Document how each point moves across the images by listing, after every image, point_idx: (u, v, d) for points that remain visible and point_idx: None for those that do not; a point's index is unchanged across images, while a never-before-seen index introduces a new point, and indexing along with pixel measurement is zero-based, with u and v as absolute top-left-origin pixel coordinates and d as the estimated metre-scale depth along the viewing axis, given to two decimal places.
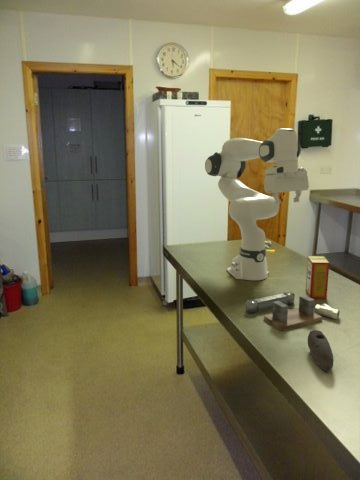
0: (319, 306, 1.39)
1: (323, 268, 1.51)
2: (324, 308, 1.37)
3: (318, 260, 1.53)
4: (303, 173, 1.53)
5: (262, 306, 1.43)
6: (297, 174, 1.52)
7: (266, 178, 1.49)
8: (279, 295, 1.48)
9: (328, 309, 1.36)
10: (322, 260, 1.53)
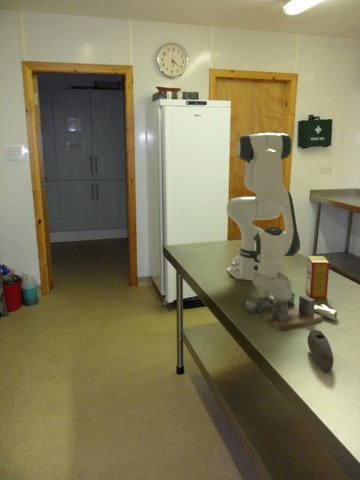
0: (317, 306, 1.38)
1: (323, 268, 1.51)
2: (321, 309, 1.37)
3: (318, 260, 1.53)
4: (280, 281, 1.37)
5: (262, 306, 1.43)
6: (274, 279, 1.40)
7: None
8: None
9: (325, 310, 1.36)
10: (322, 260, 1.53)
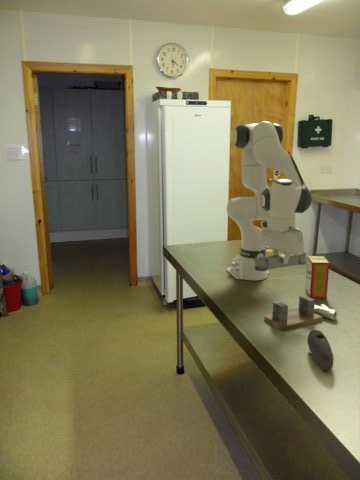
0: (316, 306, 1.38)
1: (323, 268, 1.51)
2: (321, 308, 1.37)
3: (318, 260, 1.53)
4: (291, 234, 1.28)
5: (272, 263, 1.34)
6: (285, 234, 1.31)
7: None
8: None
9: (325, 309, 1.36)
10: (322, 260, 1.53)
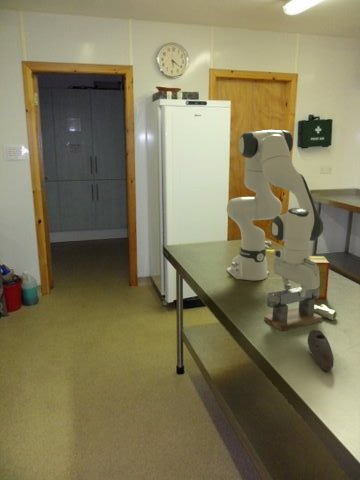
0: (316, 306, 1.38)
1: (323, 268, 1.51)
2: (321, 309, 1.37)
3: (318, 260, 1.53)
4: (306, 268, 1.23)
5: (285, 299, 1.30)
6: (299, 266, 1.26)
7: None
8: None
9: (325, 310, 1.36)
10: (322, 260, 1.53)
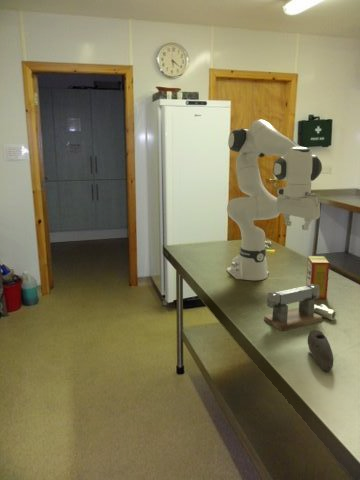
0: (315, 306, 1.39)
1: (323, 268, 1.51)
2: (320, 308, 1.37)
3: (318, 260, 1.53)
4: (308, 199, 1.33)
5: (285, 299, 1.30)
6: (301, 199, 1.36)
7: None
8: (303, 287, 1.35)
9: (324, 309, 1.36)
10: (322, 260, 1.53)
